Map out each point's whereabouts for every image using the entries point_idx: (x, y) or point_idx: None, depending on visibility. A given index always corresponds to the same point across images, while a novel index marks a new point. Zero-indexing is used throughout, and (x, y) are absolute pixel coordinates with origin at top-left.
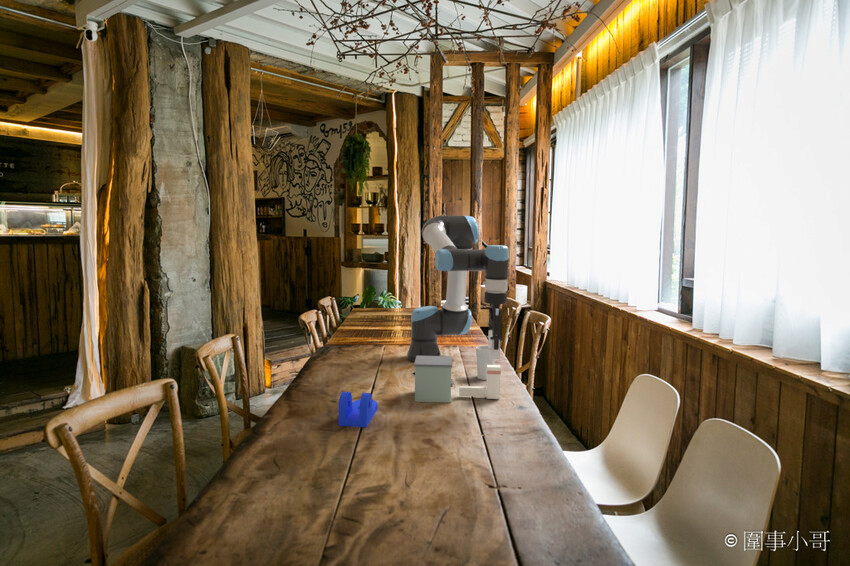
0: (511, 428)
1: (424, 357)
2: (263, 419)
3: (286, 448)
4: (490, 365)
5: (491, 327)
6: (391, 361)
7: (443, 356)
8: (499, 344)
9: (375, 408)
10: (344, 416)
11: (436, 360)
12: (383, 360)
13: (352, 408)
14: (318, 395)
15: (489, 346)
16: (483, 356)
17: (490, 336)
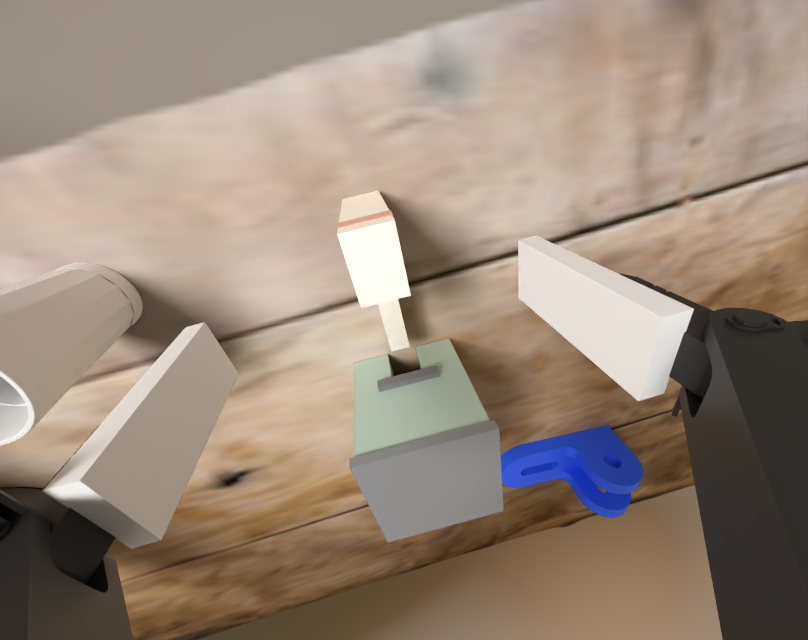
0: (656, 108)
1: (406, 521)
2: (569, 525)
3: (669, 466)
4: (371, 286)
5: (78, 573)
6: (156, 553)
7: (365, 488)
8: (633, 289)
9: (542, 448)
10: (612, 466)
11: (438, 485)
12: (162, 565)
13: (554, 474)
14: (461, 531)
15: (230, 375)
16: (62, 366)
17: (186, 447)
